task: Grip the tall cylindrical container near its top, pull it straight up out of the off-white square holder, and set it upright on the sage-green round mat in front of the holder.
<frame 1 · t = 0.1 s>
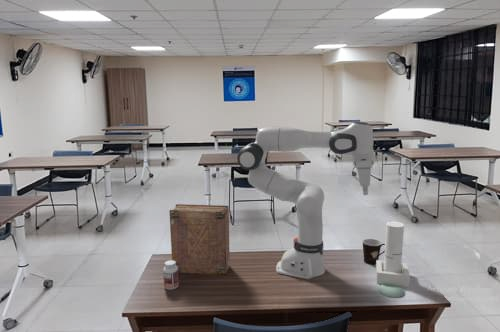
hand: (365, 191, 169), 39 cm above the table, tool pointing down, fingers open, 8 cm apart
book: (201, 269, 185), on the table
coffee mug: (374, 262, 191), on the table
cylindrical container: (391, 278, 175), resting in holder
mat: (391, 291, 163), on the table
holder: (391, 278, 175), on the table
pill bottle: (171, 286, 170), on the table
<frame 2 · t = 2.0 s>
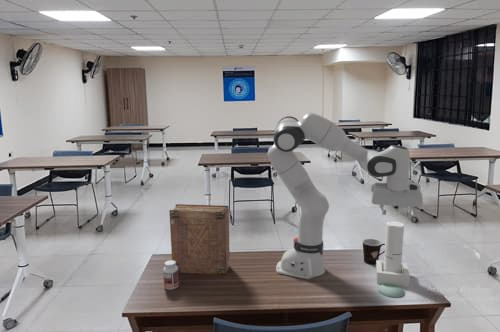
hand: (395, 215, 169), 29 cm above the table, tool pointing down, fingers open, 8 cm apart
nothing on the table moved.
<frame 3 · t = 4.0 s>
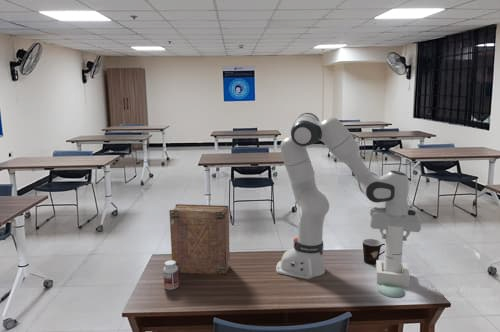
hand: (394, 239, 171), 18 cm above the table, tool pointing down, fingers closed on cylindrical container, 7 cm apart
cylindrical container: (391, 278, 175), resting in holder, touching gripper
everything else where it was.
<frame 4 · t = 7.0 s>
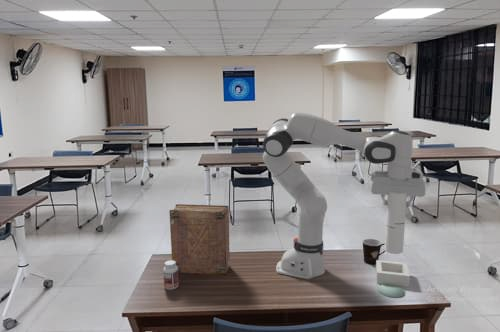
hand: (396, 205, 159), 36 cm above the table, tool pointing down, fingers closed on cylindrical container, 7 cm apart
cylindrical container: (393, 250, 163), point 17 cm above the table, touching gripper
everything else where it was.
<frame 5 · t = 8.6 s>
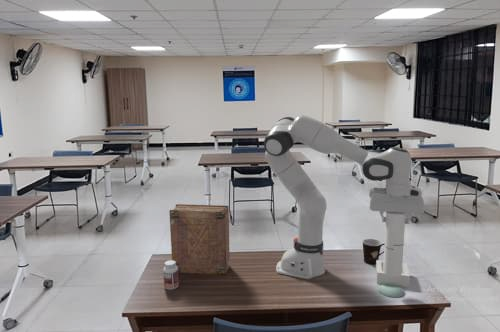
hand: (395, 222, 158), 30 cm above the table, tool pointing down, fingers closed on cylindrical container, 7 cm apart
cylindrical container: (392, 272, 161), point 9 cm above the table, touching gripper
everything else where it was.
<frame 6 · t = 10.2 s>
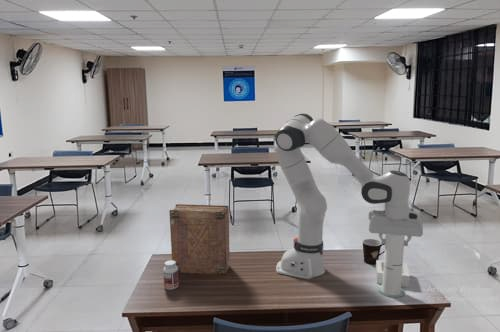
hand: (394, 244, 159), 20 cm above the table, tool pointing down, fingers closed on cylindrical container, 7 cm apart
cylindrical container: (391, 291, 163), resting on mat, touching gripper
everything else where it was.
when the fingers open (20 cm above the table, at t = 11.3 s): cylindrical container stays where it is, resting on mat.
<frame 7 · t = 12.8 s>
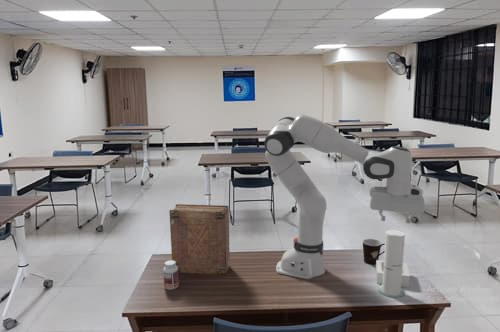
hand: (395, 221, 158), 30 cm above the table, tool pointing down, fingers open, 8 cm apart
cylindrical container: (391, 291, 163), resting on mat
everything else where it was.
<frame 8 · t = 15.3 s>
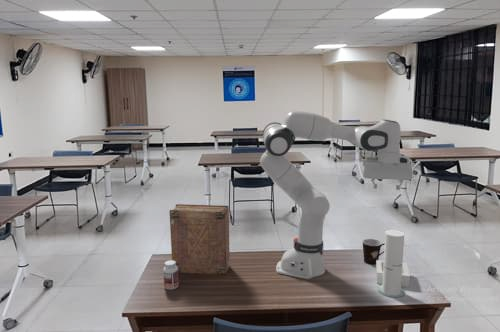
hand: (386, 188, 173), 39 cm above the table, tool pointing down, fingers open, 8 cm apart
nothing on the table moved.
at the end: cylindrical container 0.9 cm off-centre on the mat, point 0.4 cm above the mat's base; cylindrical container tilted 0°; the gripper is holding nothing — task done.
